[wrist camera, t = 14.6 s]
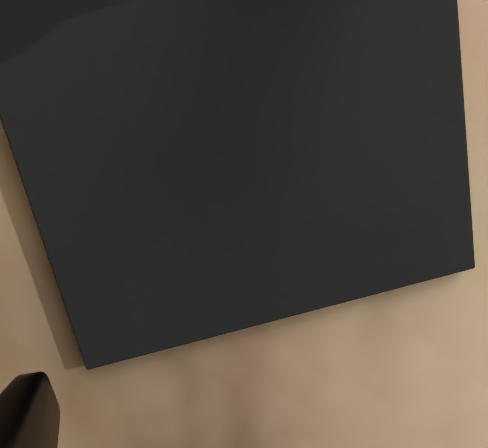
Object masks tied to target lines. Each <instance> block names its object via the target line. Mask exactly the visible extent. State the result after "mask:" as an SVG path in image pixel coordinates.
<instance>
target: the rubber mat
mask: <svg viewBox="0 0 488 448" xmlns="http://www.w3.org/2000/svg"><path fill="white" fill-rule="evenodd" d="M0 118H1V121H2V124H3V127H4V130H5V133H6V136H7V139H8V142H9V144H10V147H11V150H12V153H13V156H14V159H15V162H16V165H17V168H18V171H19V174H20V177H21V180H22V182H23V185H24V188H25V191H26V194H27V197H28V200H29V203H30V206H31V209H32V212H33V215H34V217H35V220H36V223H37V226H38V229H39V232H40V235H41V238H42V241H43V244H44V247H45V250H46V252H47V255H48V258H49V261H50V264H51V267H52V270H53V273H54V276H55V279H56V282H57V285H58V287H59V290H60V293H61V296H62V299H63V302H64V305H65V308H66V311H67V314H68V317H69V320H70V322H71V325H72V328H73V331H74V334H75V337H76V340H77V343H78V346H79V349H80V352H81V355H82V357H83V360H84V363H85V366H86V369H92V368H96V367H100V366H104V365H108V364H111V363H115V362H119V361H123V360H127V359H130V358H134V357H138V356H142V355H146V354H149V353H153V352H157V351H161V350H165V349H168V348H172V347H176V346H180V345H184V344H187V343H191V342H195V341H199V340H203V339H206V338H210V337H214V336H218V335H222V334H225V333H229V332H233V331H237V330H241V329H244V328H248V327H252V326H256V325H260V324H263V323H267V322H271V321H275V320H279V319H282V318H286V317H290V316H294V315H298V314H301V313H305V312H309V311H313V310H317V309H320V308H324V307H328V306H332V305H336V304H340V303H343V302H347V301H351V300H355V299H359V298H362V297H366V296H370V295H374V294H378V293H381V292H385V291H389V290H393V289H397V288H400V287H404V286H408V285H412V284H416V283H419V282H423V281H427V280H431V279H435V278H438V277H442V276H446V275H450V274H454V273H457V272H461V271H465V270H469V269H473V268H475V261H474V246H473V231H472V216H471V201H470V186H469V171H468V156H467V141H466V126H465V111H464V96H463V81H462V66H461V51H460V36H459V21H458V6H457V0H0Z"/></svg>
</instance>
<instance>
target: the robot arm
mask: <svg viewBox="0 0 488 448" xmlns="http://www.w3.org/2000/svg"><path fill="white" fill-rule="evenodd" d="M59 423H60V409H59V404H58V401H57V399H56V396H55V394H54V391H53V389H52V386H51V384H50V381H49V379H48V376H47V375H46V374H45V373H44V372H35V373H28V374H22V375H19V376H17V377H16V378H14V379H13V380H12V382H11V383H10V384H9V385H8V386H7V387H6V388H5V389H4V390H3V392H2V393H1V394H0V448H57V445H58V434H59Z"/></svg>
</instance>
